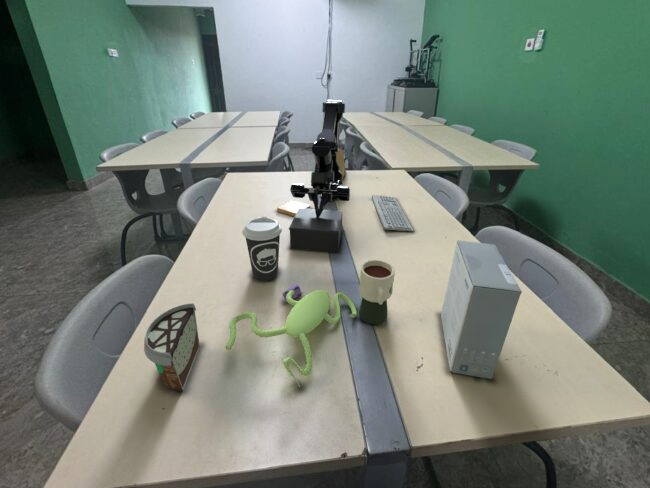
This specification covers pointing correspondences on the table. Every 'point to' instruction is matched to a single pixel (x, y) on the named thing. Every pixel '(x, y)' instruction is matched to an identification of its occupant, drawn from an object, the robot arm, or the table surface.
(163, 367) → the food container
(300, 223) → the lid
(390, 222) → the keyboard
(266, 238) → the coffee cup
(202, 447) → the table surface
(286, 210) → the toast
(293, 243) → the open black box
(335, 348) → the table surface
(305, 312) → the figurine
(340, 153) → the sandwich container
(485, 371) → the hard drive box
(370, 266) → the character mug
